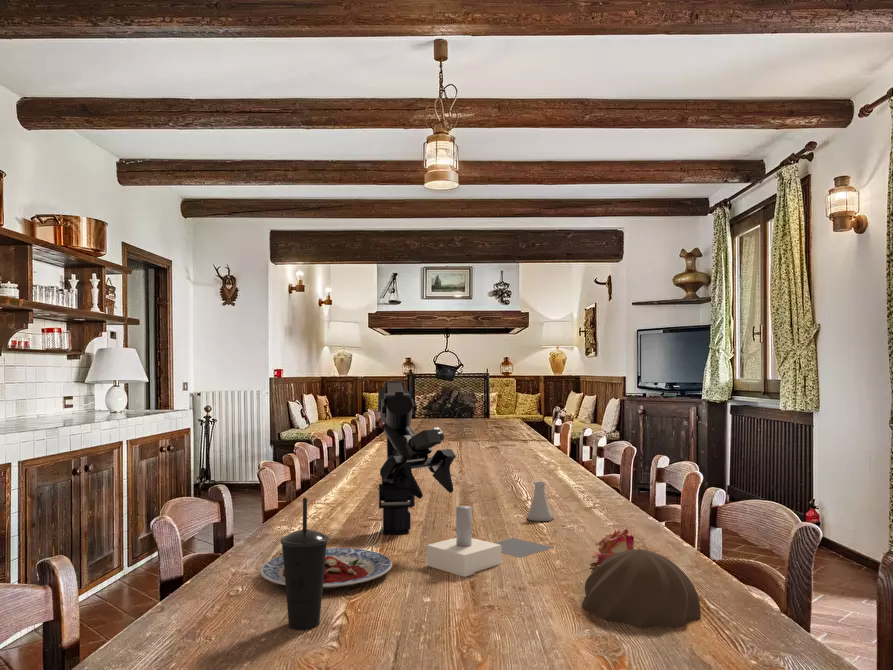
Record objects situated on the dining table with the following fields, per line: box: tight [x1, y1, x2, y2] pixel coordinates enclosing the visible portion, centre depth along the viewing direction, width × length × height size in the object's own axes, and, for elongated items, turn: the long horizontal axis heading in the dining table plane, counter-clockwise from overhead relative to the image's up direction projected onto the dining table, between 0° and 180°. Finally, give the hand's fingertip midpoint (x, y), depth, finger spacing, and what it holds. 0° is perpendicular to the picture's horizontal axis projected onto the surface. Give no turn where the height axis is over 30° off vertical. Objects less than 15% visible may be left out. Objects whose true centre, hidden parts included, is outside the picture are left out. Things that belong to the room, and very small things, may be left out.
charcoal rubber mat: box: [494, 537, 554, 558], centre depth 154 cm, size 12×12×1 cm
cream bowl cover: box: [426, 505, 502, 578], centre depth 141 cm, size 11×11×12 cm
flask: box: [526, 481, 554, 522], centre depth 185 cm, size 7×7×10 cm
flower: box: [591, 528, 635, 566], centre depth 139 cm, size 10×9×8 cm
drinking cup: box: [279, 497, 330, 631], centre depth 109 cm, size 8×8×20 cm
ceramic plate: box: [259, 547, 393, 590], centre depth 135 cm, size 26×26×3 cm
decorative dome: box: [583, 548, 702, 629], centre depth 117 cm, size 19×20×10 cm
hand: (437, 494), depth 147 cm, fingers open, 9 cm apart
